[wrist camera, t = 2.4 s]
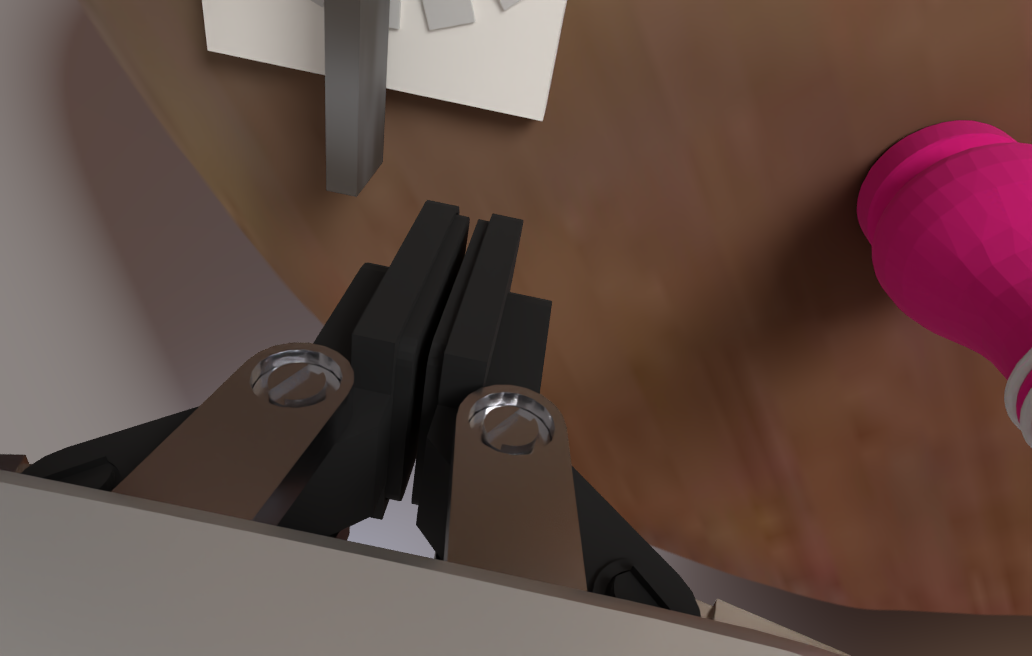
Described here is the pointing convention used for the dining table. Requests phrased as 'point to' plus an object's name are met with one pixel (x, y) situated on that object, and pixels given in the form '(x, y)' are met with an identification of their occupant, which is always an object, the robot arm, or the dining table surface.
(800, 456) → the dining table surface
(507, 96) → the dial board
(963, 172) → the pepper mill
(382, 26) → the brown grey handled piece
